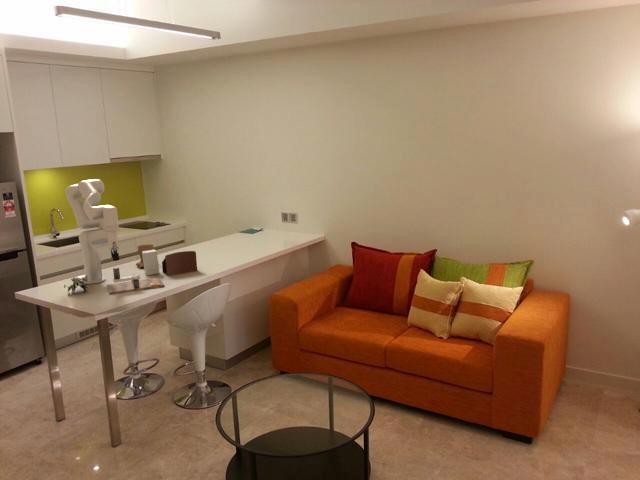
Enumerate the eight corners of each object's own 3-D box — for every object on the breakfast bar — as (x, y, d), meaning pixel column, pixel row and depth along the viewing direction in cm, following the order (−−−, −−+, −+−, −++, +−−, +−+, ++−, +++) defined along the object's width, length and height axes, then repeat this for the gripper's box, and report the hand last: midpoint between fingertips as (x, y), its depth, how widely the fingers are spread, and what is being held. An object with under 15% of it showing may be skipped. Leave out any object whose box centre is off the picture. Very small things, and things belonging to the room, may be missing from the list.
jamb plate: (109, 294, 303) (108, 284, 302) (107, 286, 319) (106, 277, 318) (164, 286, 316) (163, 277, 315) (159, 279, 332) (158, 270, 331)
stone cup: (150, 262, 377) (148, 241, 374) (161, 264, 370) (159, 242, 367) (131, 266, 365) (129, 245, 362) (141, 269, 358) (139, 247, 355)
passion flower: (86, 300, 312) (94, 285, 308) (68, 302, 303) (76, 286, 299) (76, 287, 317) (85, 272, 313) (59, 288, 307) (67, 273, 303)
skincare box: (157, 271, 351) (155, 249, 348) (159, 273, 346) (157, 250, 342) (144, 273, 347) (141, 250, 344) (146, 275, 342) (143, 252, 338)
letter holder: (197, 271, 349) (196, 249, 346) (167, 276, 339) (165, 254, 336) (192, 268, 358) (191, 247, 355) (162, 272, 348) (160, 251, 345)
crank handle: (139, 277, 314) (138, 264, 312) (140, 279, 310) (139, 266, 309) (113, 281, 308) (111, 268, 307) (114, 282, 304) (112, 269, 303)
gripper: (103, 227, 307) (107, 256, 310) (105, 231, 291) (109, 262, 295) (117, 226, 310) (120, 255, 313) (120, 230, 295) (124, 260, 298)
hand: (115, 258), depth 304 cm, fingers open, 9 cm apart
